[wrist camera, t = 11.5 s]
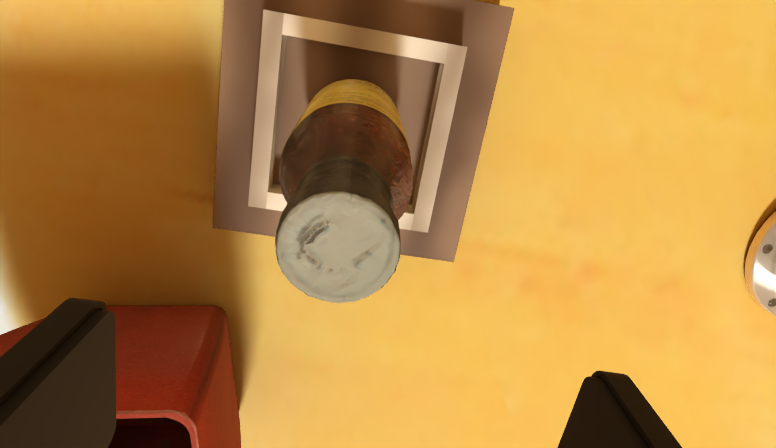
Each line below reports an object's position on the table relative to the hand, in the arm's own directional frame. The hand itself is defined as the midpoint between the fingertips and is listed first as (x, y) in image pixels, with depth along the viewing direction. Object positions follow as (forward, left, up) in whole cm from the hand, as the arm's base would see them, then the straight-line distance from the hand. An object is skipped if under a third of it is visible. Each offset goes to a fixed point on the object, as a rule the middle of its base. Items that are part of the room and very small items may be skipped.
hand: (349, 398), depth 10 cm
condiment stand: (+1, -1, -30) cm, 30 cm away
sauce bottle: (+1, -1, -26) cm, 26 cm away
